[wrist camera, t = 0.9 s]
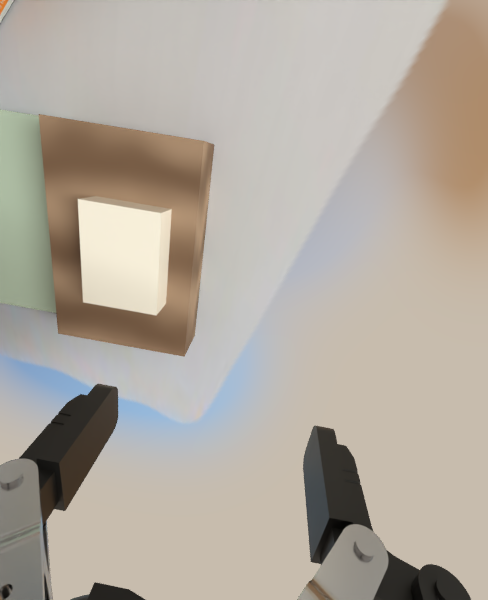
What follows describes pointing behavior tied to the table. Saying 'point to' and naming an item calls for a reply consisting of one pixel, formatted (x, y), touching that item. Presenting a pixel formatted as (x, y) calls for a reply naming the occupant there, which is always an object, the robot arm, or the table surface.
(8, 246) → the mat
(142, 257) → the tile
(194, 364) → the table surface
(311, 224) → the table surface
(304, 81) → the table surface
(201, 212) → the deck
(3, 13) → the skincare box
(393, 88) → the table surface
